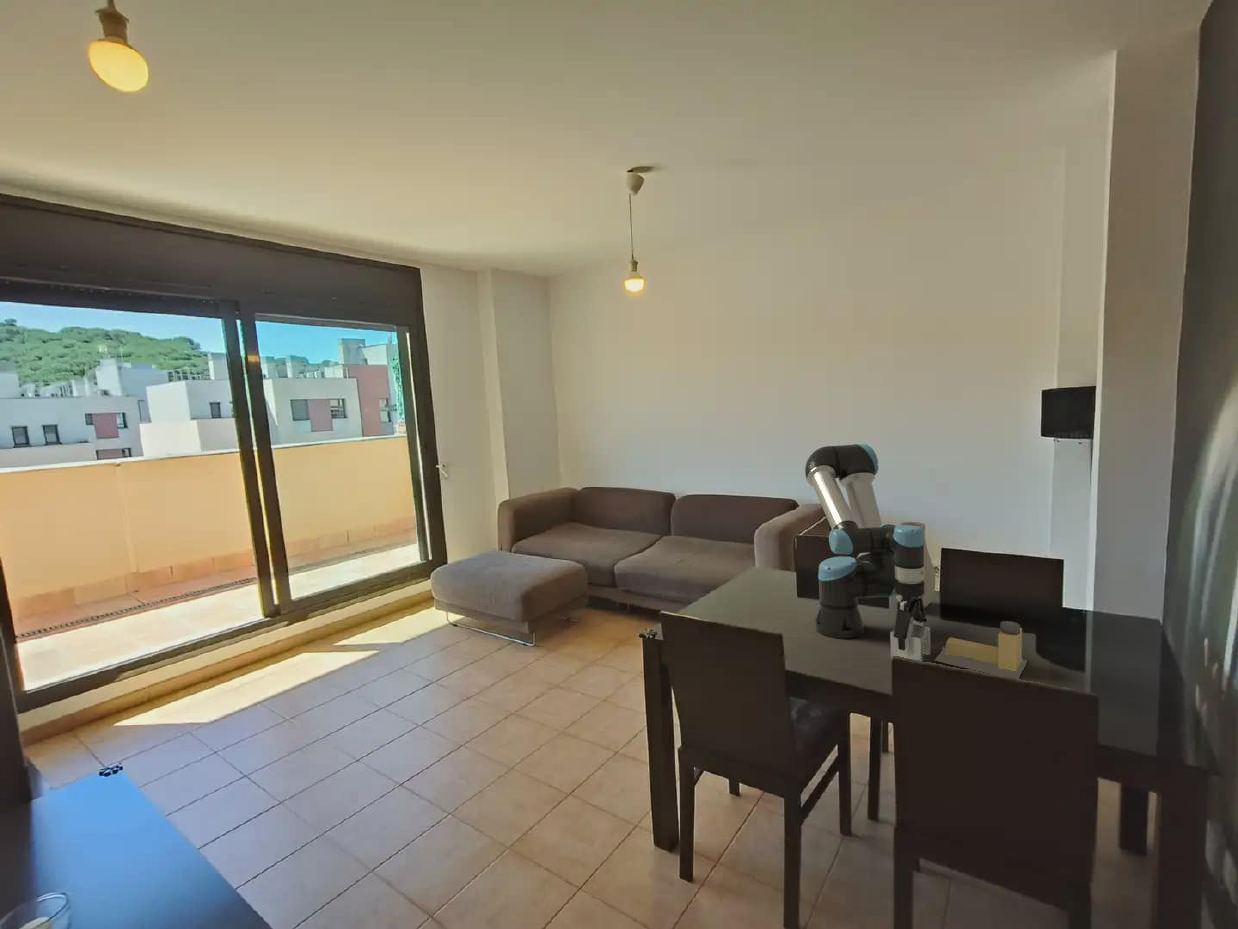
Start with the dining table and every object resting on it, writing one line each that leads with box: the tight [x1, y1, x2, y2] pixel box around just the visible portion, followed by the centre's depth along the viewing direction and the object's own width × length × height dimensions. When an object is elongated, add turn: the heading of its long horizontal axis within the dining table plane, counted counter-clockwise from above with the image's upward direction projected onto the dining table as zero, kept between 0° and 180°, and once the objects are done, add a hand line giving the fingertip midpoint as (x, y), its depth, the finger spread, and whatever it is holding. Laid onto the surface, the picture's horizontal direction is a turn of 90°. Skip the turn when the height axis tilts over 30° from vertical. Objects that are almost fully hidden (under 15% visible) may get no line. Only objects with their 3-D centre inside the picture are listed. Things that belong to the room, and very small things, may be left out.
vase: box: [895, 521, 936, 609], centre depth 200 cm, size 14×14×30 cm
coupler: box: [945, 620, 1023, 671], centre depth 159 cm, size 17×8×12 cm, turn 46°
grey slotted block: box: [889, 623, 931, 662], centre depth 166 cm, size 8×9×8 cm
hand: (910, 651), depth 166 cm, fingers open, 13 cm apart
